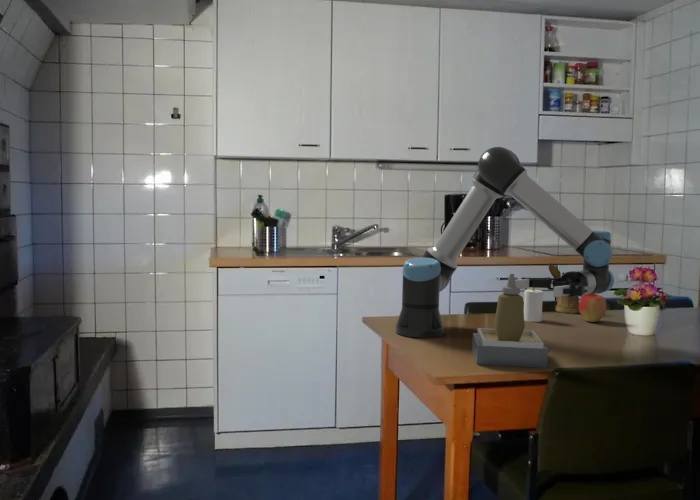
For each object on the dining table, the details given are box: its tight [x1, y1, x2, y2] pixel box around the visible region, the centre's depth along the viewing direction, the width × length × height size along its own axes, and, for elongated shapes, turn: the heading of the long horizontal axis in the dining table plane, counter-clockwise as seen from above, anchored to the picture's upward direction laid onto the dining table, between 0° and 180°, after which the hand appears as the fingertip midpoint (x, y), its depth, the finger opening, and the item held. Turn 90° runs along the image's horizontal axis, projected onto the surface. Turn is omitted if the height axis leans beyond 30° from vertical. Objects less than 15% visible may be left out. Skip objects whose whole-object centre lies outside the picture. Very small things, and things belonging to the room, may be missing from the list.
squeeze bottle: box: [493, 273, 526, 341], centre depth 185 cm, size 8×8×18 cm
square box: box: [471, 327, 549, 369], centre depth 186 cm, size 18×16×6 cm
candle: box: [523, 287, 544, 323], centre depth 241 cm, size 6×6×15 cm
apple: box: [579, 293, 607, 323], centre depth 241 cm, size 10×10×10 cm
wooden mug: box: [548, 262, 580, 315], centre depth 261 cm, size 9×14×18 cm, turn 42°
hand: (533, 288), depth 191 cm, fingers open, 13 cm apart
